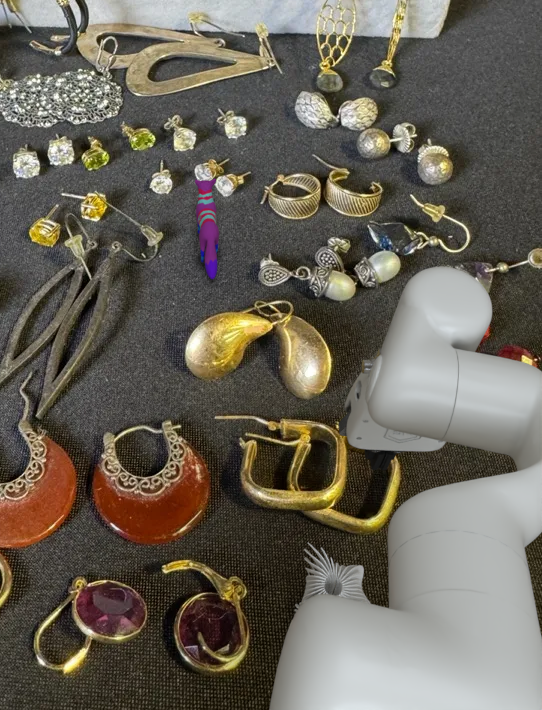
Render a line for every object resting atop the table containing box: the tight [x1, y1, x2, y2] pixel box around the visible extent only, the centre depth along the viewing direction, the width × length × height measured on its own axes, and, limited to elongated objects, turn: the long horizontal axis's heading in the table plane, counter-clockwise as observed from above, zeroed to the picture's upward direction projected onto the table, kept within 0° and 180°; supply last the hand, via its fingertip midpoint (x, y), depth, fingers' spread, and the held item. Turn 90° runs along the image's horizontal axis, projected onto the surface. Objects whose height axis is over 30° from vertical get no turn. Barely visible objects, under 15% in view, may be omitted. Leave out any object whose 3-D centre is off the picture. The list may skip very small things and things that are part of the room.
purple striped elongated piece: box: [194, 178, 220, 280], centre depth 140 cm, size 4×18×10 cm, turn 4°
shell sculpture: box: [293, 541, 371, 616], centre depth 96 cm, size 8×8×18 cm
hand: (376, 457), depth 91 cm, fingers closed
